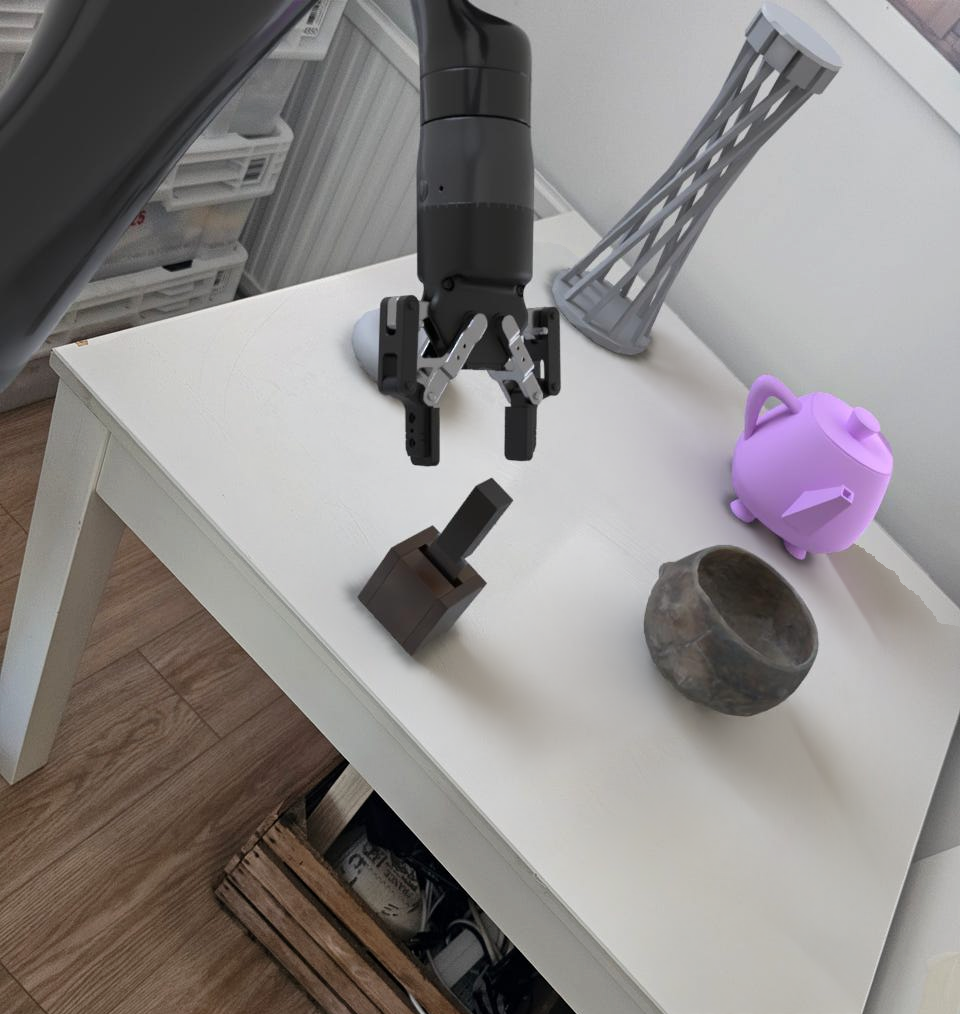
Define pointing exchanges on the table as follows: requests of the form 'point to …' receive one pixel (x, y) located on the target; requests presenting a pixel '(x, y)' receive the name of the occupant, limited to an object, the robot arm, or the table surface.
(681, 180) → the gray lattice tower
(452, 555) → the knife
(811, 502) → the teapot
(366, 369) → the donut
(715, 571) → the bowl
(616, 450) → the table surface
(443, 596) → the knife block
